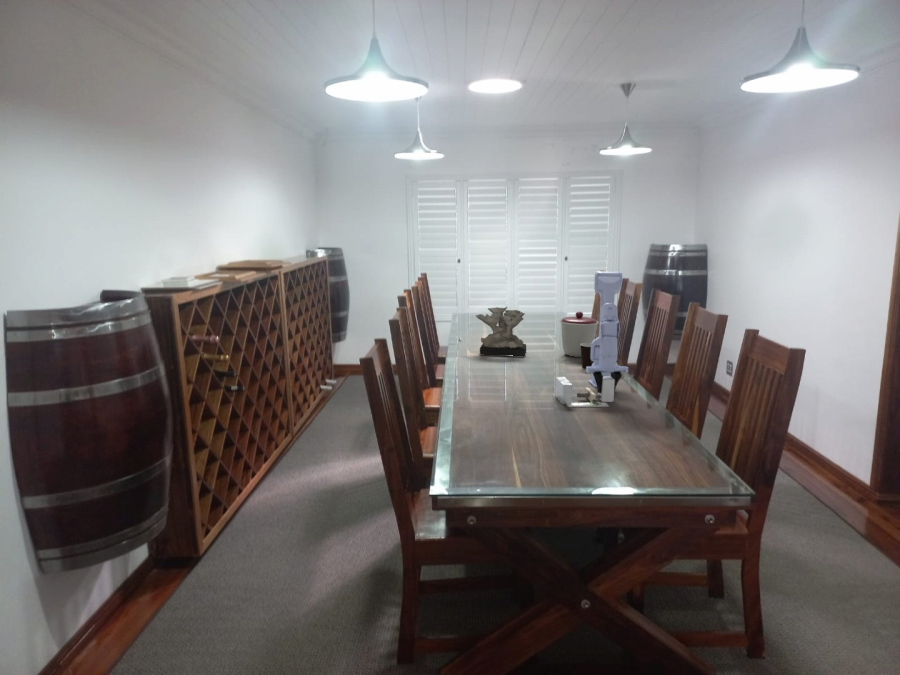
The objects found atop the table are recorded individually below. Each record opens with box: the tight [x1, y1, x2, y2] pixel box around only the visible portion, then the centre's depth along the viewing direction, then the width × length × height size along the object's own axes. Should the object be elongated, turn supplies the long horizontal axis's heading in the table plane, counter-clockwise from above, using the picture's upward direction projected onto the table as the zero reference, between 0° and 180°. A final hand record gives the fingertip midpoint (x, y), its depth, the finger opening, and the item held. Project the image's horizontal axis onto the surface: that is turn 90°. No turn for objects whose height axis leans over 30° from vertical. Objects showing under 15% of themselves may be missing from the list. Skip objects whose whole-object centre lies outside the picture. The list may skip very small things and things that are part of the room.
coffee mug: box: [580, 343, 600, 369], centre depth 258 cm, size 12×9×10 cm
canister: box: [559, 311, 600, 358], centre depth 282 cm, size 18×18×21 cm
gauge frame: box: [554, 376, 610, 408], centre depth 207 cm, size 14×15×7 cm
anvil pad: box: [576, 387, 600, 405], centre depth 206 cm, size 14×5×3 cm, turn 3°
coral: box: [475, 306, 527, 357], centre depth 288 cm, size 25×20×22 cm
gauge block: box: [596, 376, 615, 403], centre depth 208 cm, size 5×7×8 cm
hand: (605, 392), depth 209 cm, fingers closed on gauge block, 4 cm apart
